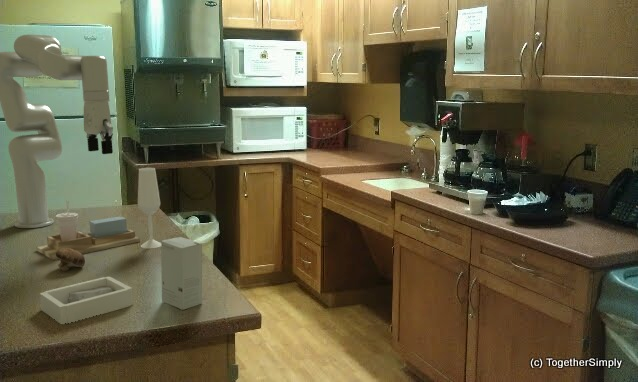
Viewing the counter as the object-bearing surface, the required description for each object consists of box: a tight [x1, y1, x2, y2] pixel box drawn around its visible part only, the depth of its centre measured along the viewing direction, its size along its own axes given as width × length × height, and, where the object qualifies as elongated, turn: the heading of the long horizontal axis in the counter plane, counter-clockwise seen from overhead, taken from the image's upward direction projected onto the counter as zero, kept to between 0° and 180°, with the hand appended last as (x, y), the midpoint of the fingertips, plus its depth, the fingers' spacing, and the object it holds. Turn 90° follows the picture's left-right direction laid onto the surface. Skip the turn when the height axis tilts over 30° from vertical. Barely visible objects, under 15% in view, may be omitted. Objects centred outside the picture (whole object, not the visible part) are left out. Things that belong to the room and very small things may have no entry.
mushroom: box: [56, 248, 86, 272], centre depth 167 cm, size 8×8×6 cm
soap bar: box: [68, 286, 113, 303], centre depth 142 cm, size 10×6×6 cm, turn 130°
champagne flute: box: [137, 167, 161, 249], centre depth 187 cm, size 7×7×24 cm
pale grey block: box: [89, 216, 128, 238], centre depth 193 cm, size 4×10×6 cm, turn 130°
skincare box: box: [160, 236, 203, 311], centre depth 141 cm, size 8×6×15 cm
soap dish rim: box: [39, 276, 134, 325], centre depth 139 cm, size 12×16×4 cm
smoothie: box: [55, 200, 79, 241], centre depth 184 cm, size 6×6×14 cm
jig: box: [36, 228, 141, 261], centre depth 189 cm, size 13×27×4 cm, turn 134°
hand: (100, 152), depth 191 cm, fingers open, 9 cm apart
